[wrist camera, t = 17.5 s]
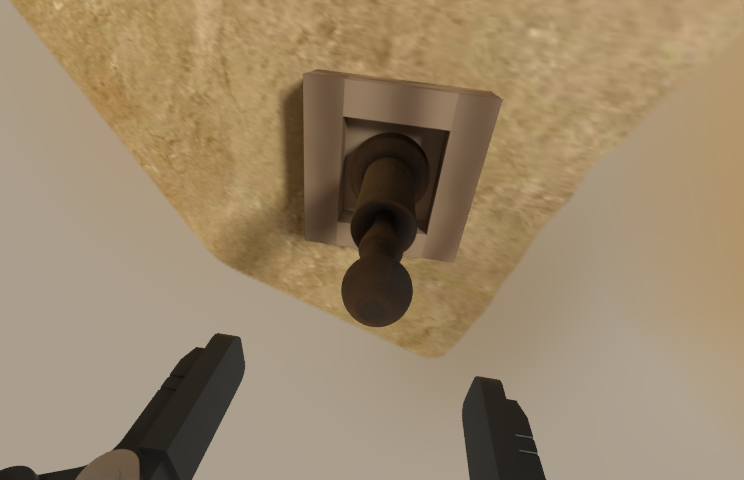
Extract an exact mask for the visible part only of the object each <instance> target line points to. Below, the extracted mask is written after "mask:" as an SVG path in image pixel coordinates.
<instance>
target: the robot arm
mask: <svg viewBox="0 0 744 480" xmlns="http://www.w3.org/2000/svg"><path fill="white" fill-rule="evenodd" d="M244 370H245V361H244V355H243V349H242V343H241V339H240V337H238V336H232V335H226V334H220V333H217V334H215V335H214V336H213V337H212V338H211V340H210V341H209V343H208V344H207V346H206V347H205V348H198V347H196V348H195V349H193V350H192V351H191V352H190V353H188V354H187V355H186V356H185V357H183V358H182V359H181V360H180V361H179V363H178V364H177V365H176V367H175V368H174V369H173V371H172V372H171V374H170V377H168V378H167V379H166V380H165V382H164V383H163V385H162V386H161V389H160V390H158V391H157V393H156V394H155V396H154V397H153V398H152V400H151V401H150V402H149V404H148V405H147V407H146V408H145V409H144V411H143V412H142V413H141V415H140V416H139V418H138V419H137V420H136V422H135V423H134V424H133V426H132V427H131V429H130V430H129V431H128V433H127V434H126V435H125V437H124V438H123V439H122V441H121V442H120V443H119V444H118V445H117V446H116V447H115V448H114V449H113V450H112V451H110V452H107V453H105V454H104V455H101V456H99V457H98V458H96V459H95V460H93V461H92V462H91V463H89V464H88V465H86V466H83V467H79V468H73V469H68V470H63V471H57V472H52V473H46V474H41V475H37V474H36V473H35V472H34V471H33V470H32V469H30V468H28V467H26V466H13V467H9V468H6V469H3V470H0V480H192V478H193V476H194V474H195V472H196V470H197V468H198V466H199V464H200V462H201V460H202V458H203V456H204V454H205V452H206V450H207V448H208V446H209V444H210V442H211V441H212V439H213V437H214V434H215V432H216V430H217V429H218V427H219V425H220V423H221V421H222V419H223V417H224V415H225V413H226V411H227V409H228V407H229V405H230V403H231V401H232V399H233V397H234V395H235V393H236V391H237V389H238V387H239V385H240V383H241V381H242V378H243V375H244ZM462 421H463V429H464V437H465V445H466V453H467V460H468V468H469V476H470V480H546V478H545V475H544V472H543V469H542V465H541V462H540V458H539V456H538V455H537V448H536V445H535V442H534V440H533V435H532V432H531V428H530V425H529V422H528V418H527V417H526V415H525V413H524V412H523V410H522V409H521V407H520V406H519V404H518V403H517V401H515V400H509V399H506V396H505V392H504V389H503V385H502V383H501V381H500V380H497V379H491V378H484V377H479V376H476V377H475V378H474V380H473V382H472V384H471V387H470V389H469V391H468V393H467V395H466V398H465V401H464V403H463V409H462Z"/></svg>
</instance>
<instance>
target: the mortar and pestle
mask: <svg viewBox="0 0 744 480" xmlns="http://www.w3.org/2000/svg"><path fill="white" fill-rule="evenodd" d="M429 180H430V171H429V165H428V160H427V157H426V155H425V153H424V151H423V149H422V148H421V147H420V145H419V144H418V143H417V142H416V141H414V140H413V139H412V138H410V137H408V136H406V135H404V134H400V133H395V132H387V133H381V134H378V135H375V136H373V137H371V138H369V139H368V140H366V141H365V142H364V143H363V144H362V145H361V146H360V147H359V149H358V150H357V152H356V153H355V155H354V158H353V160H352V163H351V166H350V171H349V181H350V186H351V189H352V191H353V193H354V195H355V197H356V198H357V199H358V201H357V204H356V207H355V210H354V213H353V216H352V219H351V224H350V232H351V236H352V239H353V241H354V243H355V245H356V246H357V247H358V248H359V256H360V259H359V260H357V261H356V262H355V263H353V264H352V265H351V266H350V267H349V269H348V270H347V272H346V274H345V276H344V278H343V282H342V289H341V292H342V299H343V303H344V305H345V307H346V309H347V311H348V312H349V313H350V315H351V316H352V317H353V318H354V319H356V320H357V321H358V322H360V323H362V324H364V325H367V326H371V327H383V326H387V325H390V324H392V323H394V322H396V321H397V320H399V319H400V318H401V317H402V316H403V315H404V314H405V312H406V311H407V309H408V307H409V305H410V303H411V300H412V294H413V287H412V281H411V278H410V276H409V274H408V272H407V270H406V269H405V268H404V267H403V265H402V264H401V263H399V262H400V261H401V259H402V256H403V253H404V252H405V251H407V250H408V249H409V248H410V247H411V245H412V244H413V242H414V240H415V238H416V234H417V220H416V211H415V205H416V204H417V203H418V202H419V201H420V200H421V199H422V198H423V196H424V195H425V193H426V191H427V189H428V185H429Z"/></svg>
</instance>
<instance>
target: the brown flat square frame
mask: <svg viewBox="0 0 744 480" xmlns="http://www.w3.org/2000/svg"><path fill="white" fill-rule="evenodd" d="M502 100H503V99H501V98H500V97H498V96H497V95H495V94H494V93H493V92H491V91H483V90H475V89H467V88H459V87H452V86H444V85H436V84H428V83H420V82H412V81H405V80H397V79H389V78H381V77H373V76H366V75H358V74H350V73H342V72H334V71H326V70H319V69H317V70H314V71H311V72H307V73H304V74H303V118H304V214H305V240H307V241H313V242H320V243H327V244H333V245H340V246H347V247H353V248H358V247H357V246H356V245H355V243H354V241H353V239H352V236H351V232H350V224H351V219H352V216H353V213H354V210H355V207H356V204H357V201H358V199H357V198H356V197H355V195H354V193H353V191H352V189H351V186H350V181H349V171H350V166H351V163H352V160H353V158H354V155H355V153H356V152H357V150H358V149H359V147H360V146H361V145H362V144H363V143H364V142H365V141H366V140H368V139H369V138H371V137H373V136H375V135H378V134H381V133H387V132H395V133H400V134H404V135H406V136H408V137H410V138H412V139H413V140H414V141H416V142H417V143H418V144H419V145H420V147H421V148H422V149H423V151H424V153H425V155H426V157H427V160H428V165H429V171H430V180H429V185H428V189H427V191H426V193H425V195H424V196H423V198H422V199H421V200H420V201H419V202H418V203H417V204H416V205H415V211H416V220H417V234H416V238H415V240H414V242H413V244H412V245H411V247H410V248H409V249H408V250H407V251H405V252H404V253H403V255H406V256H413V257H419V258H426V259H432V260H439V261H446V262H452V263H454V261H455V258H456V254H457V251H458V248H459V244H460V241H461V237H462V234H463V231H464V227H465V224H466V221H467V217H468V214H469V211H470V207H471V204H472V201H473V197H474V194H475V190H476V187H477V184H478V180H479V177H480V174H481V170H482V167H483V164H484V160H485V157H486V154H487V150H488V147H489V143H490V140H491V137H492V133H493V130H494V127H495V123H496V120H497V117H498V113H499V110H500V107H501V103H502Z"/></svg>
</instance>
